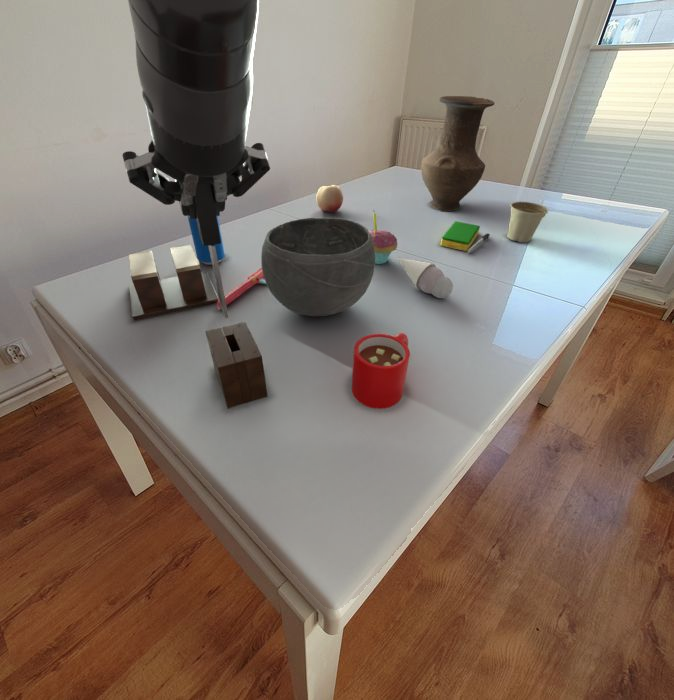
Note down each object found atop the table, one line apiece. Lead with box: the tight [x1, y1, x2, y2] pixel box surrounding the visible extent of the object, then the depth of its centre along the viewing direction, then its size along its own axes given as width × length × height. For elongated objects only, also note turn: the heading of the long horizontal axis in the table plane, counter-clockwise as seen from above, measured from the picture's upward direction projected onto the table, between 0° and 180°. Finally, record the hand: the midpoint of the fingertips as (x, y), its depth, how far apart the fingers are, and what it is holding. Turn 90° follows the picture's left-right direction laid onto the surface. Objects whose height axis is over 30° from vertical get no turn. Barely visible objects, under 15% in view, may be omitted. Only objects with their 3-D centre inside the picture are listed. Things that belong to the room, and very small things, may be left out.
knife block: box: [205, 321, 268, 410], centre depth 56 cm, size 6×9×8 cm, turn 25°
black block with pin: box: [194, 183, 229, 319], centre depth 45 cm, size 2×3×17 cm, turn 25°
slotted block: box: [128, 244, 219, 322], centre depth 76 cm, size 16×13×8 cm
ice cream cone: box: [397, 257, 454, 299], centre depth 81 cm, size 6×6×15 cm
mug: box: [351, 332, 411, 410], centre depth 57 cm, size 8×12×8 cm, turn 146°
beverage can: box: [187, 216, 226, 265], centre depth 88 cm, size 6×6×12 cm
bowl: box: [260, 217, 376, 317], centre depth 72 cm, size 21×21×15 cm
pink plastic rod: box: [216, 267, 267, 311], centre depth 82 cm, size 24×2×5 cm
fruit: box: [315, 184, 344, 213], centre depth 117 cm, size 8×8×8 cm
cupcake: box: [369, 209, 398, 265], centre depth 90 cm, size 9×8×12 cm
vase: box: [420, 95, 495, 212], centre depth 116 cm, size 19×19×30 cm
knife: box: [467, 233, 490, 254], centre depth 99 cm, size 15×1×2 cm, turn 143°
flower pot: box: [506, 201, 550, 243], centre depth 103 cm, size 9×9×9 cm
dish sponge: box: [440, 221, 481, 252], centre depth 103 cm, size 7×14×2 cm, turn 152°
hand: (202, 210), depth 44 cm, fingers closed on black block with pin, 2 cm apart
